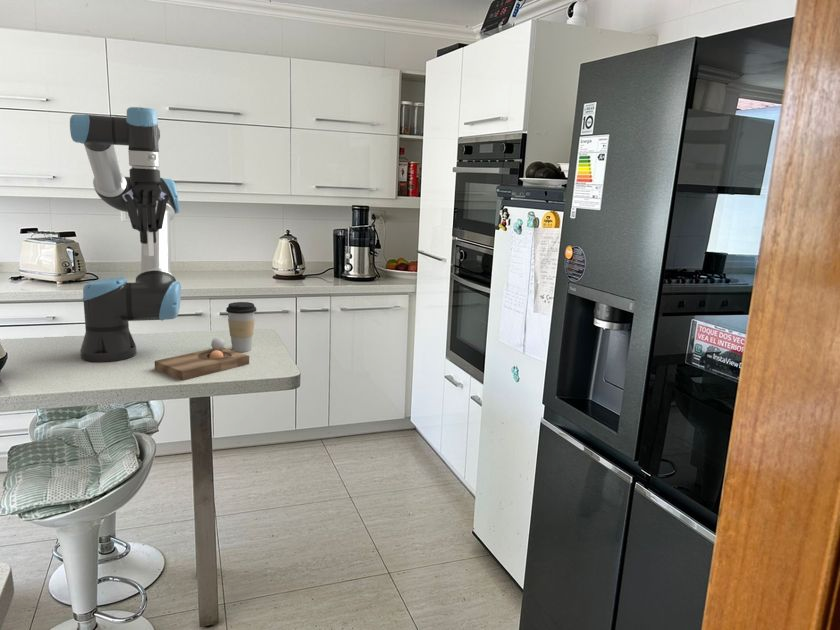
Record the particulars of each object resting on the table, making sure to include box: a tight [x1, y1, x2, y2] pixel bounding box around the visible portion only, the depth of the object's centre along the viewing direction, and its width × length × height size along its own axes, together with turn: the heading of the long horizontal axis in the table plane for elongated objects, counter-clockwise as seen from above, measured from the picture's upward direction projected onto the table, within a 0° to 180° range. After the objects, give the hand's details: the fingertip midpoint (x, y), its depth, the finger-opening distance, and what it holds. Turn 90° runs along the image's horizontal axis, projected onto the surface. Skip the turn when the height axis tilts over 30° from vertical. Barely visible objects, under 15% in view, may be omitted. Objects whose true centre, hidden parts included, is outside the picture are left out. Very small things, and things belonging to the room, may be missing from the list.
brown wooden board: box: [154, 347, 250, 381], centre depth 179 cm, size 14×22×2 cm, turn 143°
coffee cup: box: [225, 301, 257, 353], centre depth 197 cm, size 9×9×15 cm
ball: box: [210, 350, 223, 358], centre depth 182 cm, size 4×4×4 cm
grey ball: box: [210, 337, 226, 351], centre depth 187 cm, size 4×4×4 cm
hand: (148, 255), depth 170 cm, fingers closed
